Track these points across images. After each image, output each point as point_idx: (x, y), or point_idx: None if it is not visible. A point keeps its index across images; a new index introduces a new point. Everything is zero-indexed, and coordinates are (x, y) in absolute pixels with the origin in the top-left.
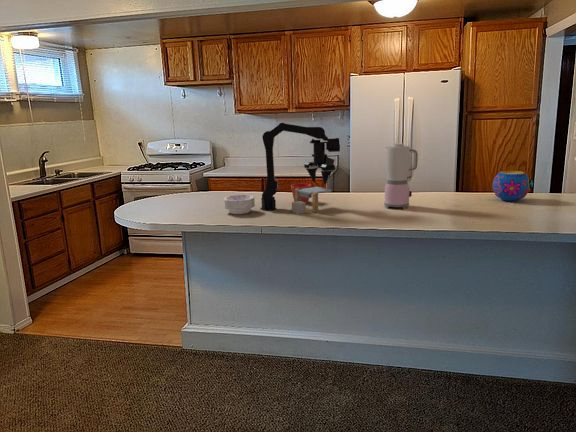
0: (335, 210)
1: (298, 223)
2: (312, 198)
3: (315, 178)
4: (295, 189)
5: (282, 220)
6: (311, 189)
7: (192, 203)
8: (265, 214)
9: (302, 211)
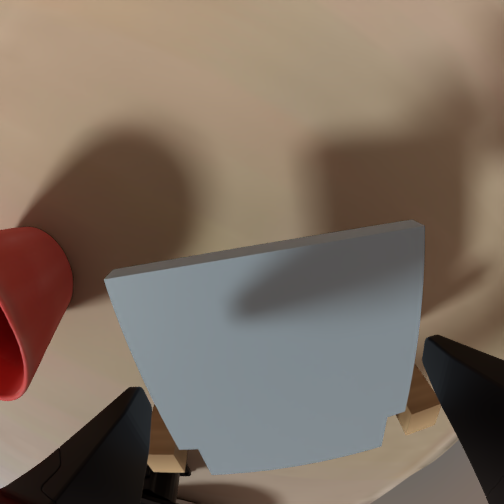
0: (397, 192)
1: (448, 426)
2: None
3: (122, 419)
4: (160, 468)
5: (379, 460)
6: (264, 410)
7: None
8: (252, 484)
9: None
